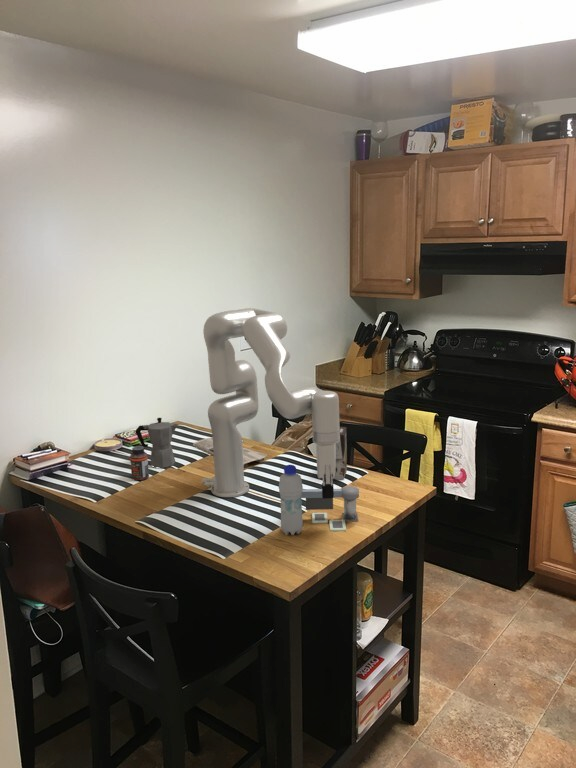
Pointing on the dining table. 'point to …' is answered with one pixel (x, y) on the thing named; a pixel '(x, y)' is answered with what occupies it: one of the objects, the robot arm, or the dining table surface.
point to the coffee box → (341, 455)
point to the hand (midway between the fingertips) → (328, 497)
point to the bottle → (291, 500)
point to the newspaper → (248, 454)
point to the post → (350, 510)
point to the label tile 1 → (319, 518)
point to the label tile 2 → (337, 525)
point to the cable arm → (318, 503)
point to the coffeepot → (159, 442)
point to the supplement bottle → (139, 463)
